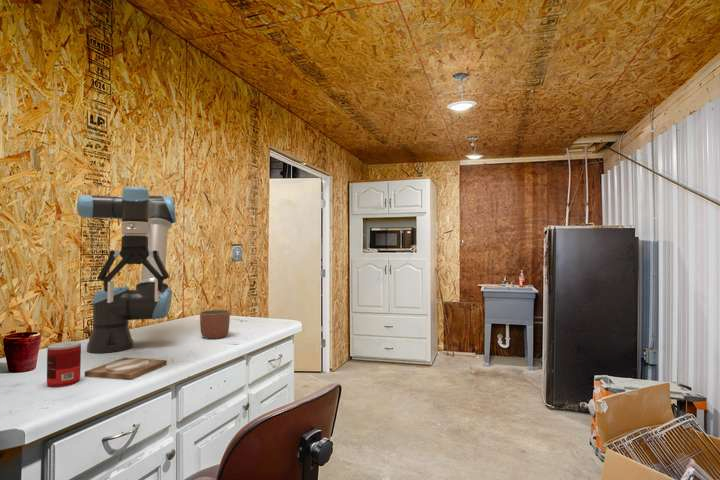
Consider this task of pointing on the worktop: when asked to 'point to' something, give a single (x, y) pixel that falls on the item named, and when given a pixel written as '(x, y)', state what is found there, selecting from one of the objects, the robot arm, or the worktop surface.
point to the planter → (214, 323)
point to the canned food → (63, 363)
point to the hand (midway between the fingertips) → (133, 301)
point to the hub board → (126, 368)
